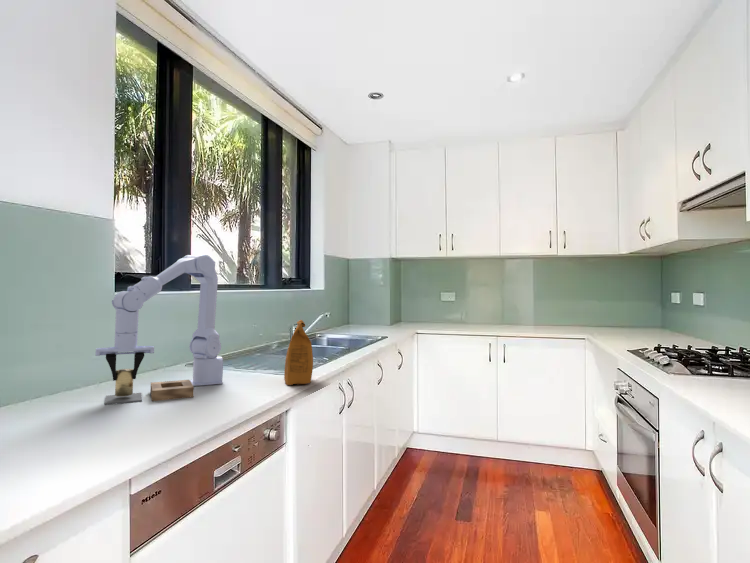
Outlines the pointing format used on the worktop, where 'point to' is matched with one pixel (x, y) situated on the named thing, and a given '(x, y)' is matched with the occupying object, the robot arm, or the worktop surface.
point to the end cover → (124, 382)
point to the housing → (171, 390)
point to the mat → (123, 399)
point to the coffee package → (299, 358)
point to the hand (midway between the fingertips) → (124, 379)
